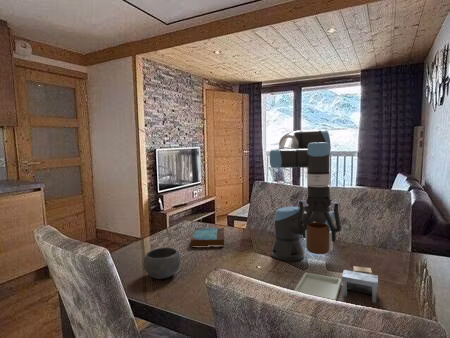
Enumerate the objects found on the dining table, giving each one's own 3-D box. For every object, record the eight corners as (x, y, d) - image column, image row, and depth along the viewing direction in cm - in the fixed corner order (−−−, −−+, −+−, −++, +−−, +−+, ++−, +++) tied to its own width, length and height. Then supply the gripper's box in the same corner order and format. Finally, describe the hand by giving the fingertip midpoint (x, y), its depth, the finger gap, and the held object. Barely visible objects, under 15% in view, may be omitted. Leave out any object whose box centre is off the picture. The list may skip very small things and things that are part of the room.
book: (224, 248, 151) (224, 239, 151) (191, 249, 151) (190, 240, 151) (224, 235, 174) (224, 227, 174) (195, 236, 174) (195, 228, 174)
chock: (353, 286, 106) (353, 270, 105) (353, 281, 109) (353, 266, 109) (371, 288, 103) (371, 272, 103) (370, 283, 107) (370, 268, 107)
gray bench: (341, 295, 99) (341, 276, 98) (344, 285, 106) (344, 267, 106) (377, 303, 93) (377, 282, 93) (378, 291, 101) (378, 272, 100)
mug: (302, 243, 109) (302, 219, 109) (323, 243, 109) (323, 219, 108) (308, 254, 98) (308, 227, 97) (331, 255, 97) (331, 227, 96)
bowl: (163, 287, 108) (162, 262, 108) (136, 279, 116) (135, 255, 116) (188, 272, 121) (187, 249, 120) (162, 265, 129) (161, 244, 128)
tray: (293, 296, 99) (293, 290, 99) (305, 276, 114) (305, 272, 114) (335, 305, 93) (335, 299, 93) (341, 283, 107) (341, 278, 107)
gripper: (287, 185, 103) (288, 247, 104) (348, 188, 93) (348, 256, 94) (293, 183, 109) (293, 241, 111) (350, 185, 100) (350, 249, 101)
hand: (318, 248), depth 103 cm, fingers closed on mug, 8 cm apart
